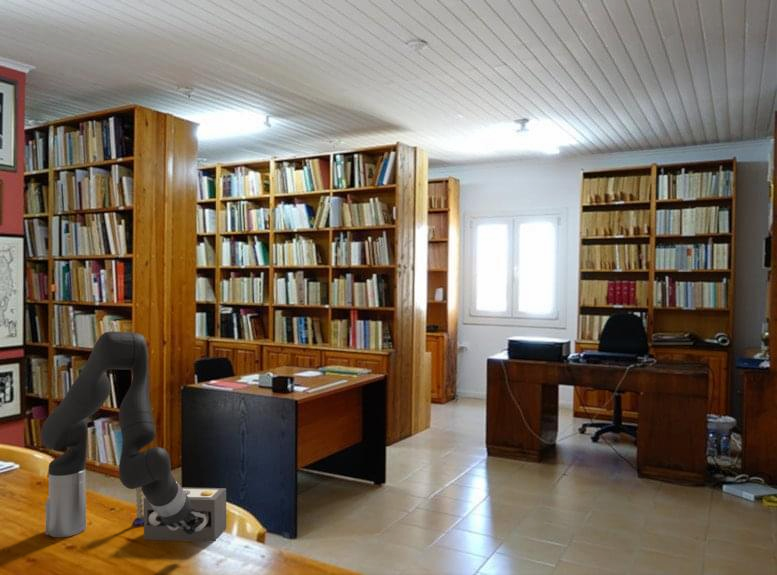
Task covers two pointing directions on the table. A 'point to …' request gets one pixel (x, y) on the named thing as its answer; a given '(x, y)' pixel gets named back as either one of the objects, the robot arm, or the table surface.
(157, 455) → the robot arm
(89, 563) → the table surface
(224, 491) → the button box
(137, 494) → the toy lamp
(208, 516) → the button right
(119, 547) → the table surface
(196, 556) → the table surface
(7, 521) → the table surface
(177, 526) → the button middle
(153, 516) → the button left
